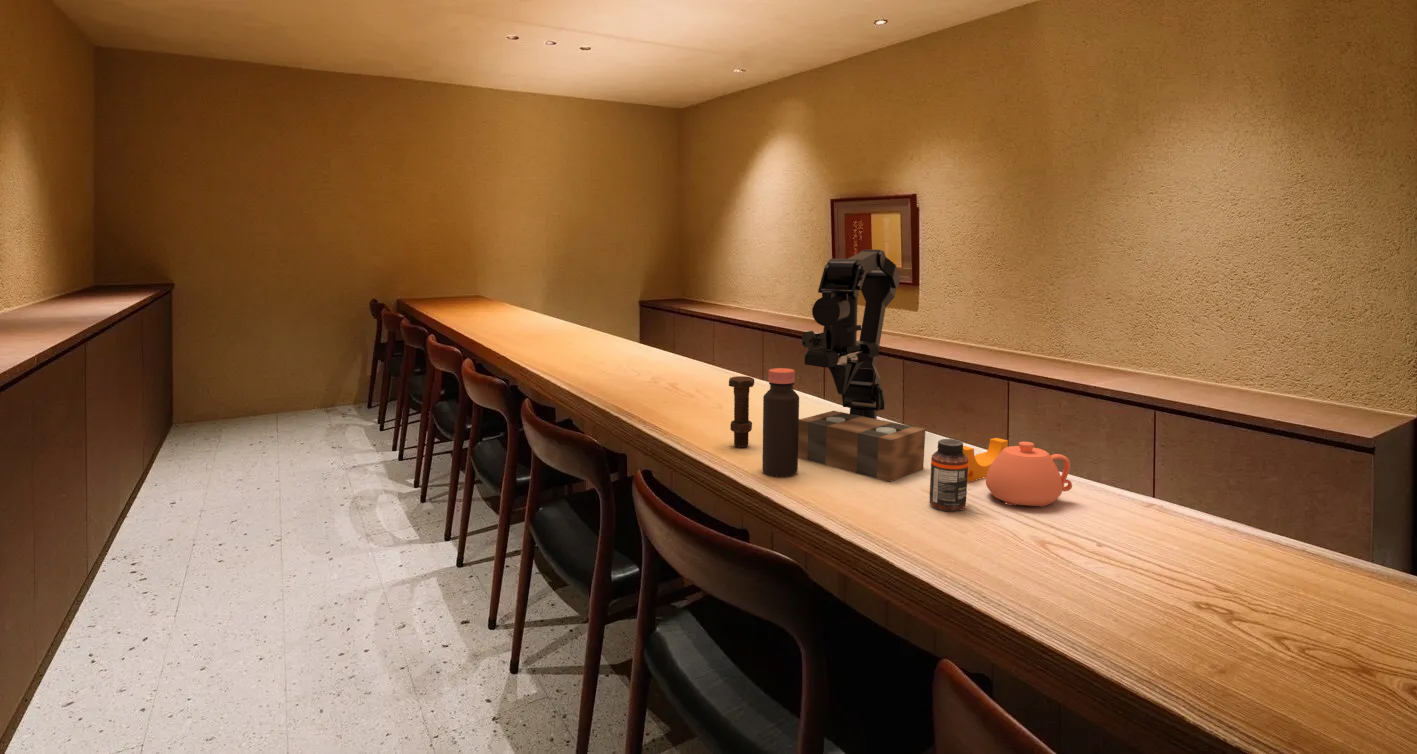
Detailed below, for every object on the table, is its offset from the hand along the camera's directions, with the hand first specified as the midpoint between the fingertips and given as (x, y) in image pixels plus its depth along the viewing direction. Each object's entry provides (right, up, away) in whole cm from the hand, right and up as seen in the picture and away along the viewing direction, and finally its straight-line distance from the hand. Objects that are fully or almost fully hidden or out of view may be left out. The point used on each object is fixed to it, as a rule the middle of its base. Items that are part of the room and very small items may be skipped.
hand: (841, 394), depth 161 cm
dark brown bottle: (-14, -15, -13) cm, 24 cm away
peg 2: (+6, -13, -12) cm, 19 cm away
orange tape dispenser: (+23, -15, -14) cm, 31 cm away
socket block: (+2, -14, -7) cm, 16 cm away
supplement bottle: (+12, -18, -32) cm, 39 cm away
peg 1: (-2, -12, -3) cm, 12 cm away
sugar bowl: (+27, -18, -28) cm, 43 cm away
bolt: (-21, -12, +5) cm, 24 cm away
